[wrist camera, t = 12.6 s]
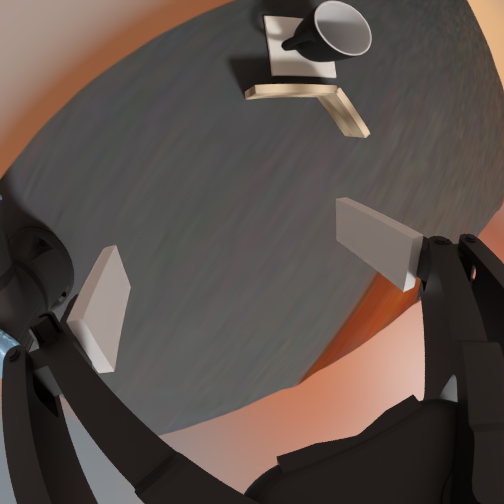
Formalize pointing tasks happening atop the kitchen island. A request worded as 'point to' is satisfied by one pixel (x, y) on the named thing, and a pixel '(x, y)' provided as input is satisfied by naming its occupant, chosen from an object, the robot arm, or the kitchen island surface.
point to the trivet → (291, 60)
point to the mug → (330, 33)
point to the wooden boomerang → (327, 96)
